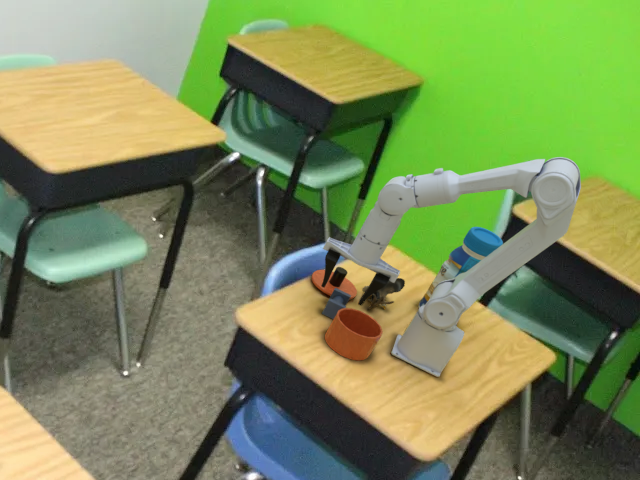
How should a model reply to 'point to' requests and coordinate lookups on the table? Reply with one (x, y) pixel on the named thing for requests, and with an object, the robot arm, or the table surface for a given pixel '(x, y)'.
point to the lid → (334, 282)
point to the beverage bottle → (465, 256)
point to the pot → (353, 334)
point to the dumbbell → (336, 303)
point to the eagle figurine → (385, 293)
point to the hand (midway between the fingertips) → (341, 293)
